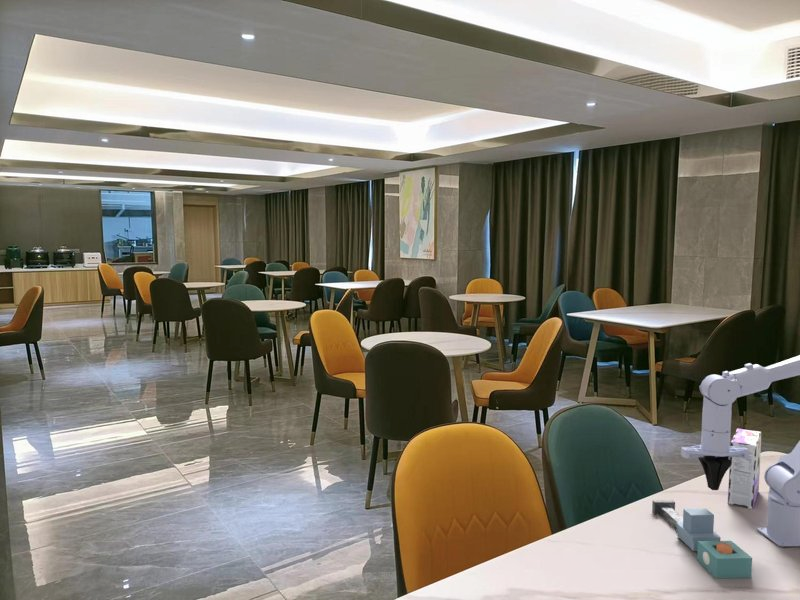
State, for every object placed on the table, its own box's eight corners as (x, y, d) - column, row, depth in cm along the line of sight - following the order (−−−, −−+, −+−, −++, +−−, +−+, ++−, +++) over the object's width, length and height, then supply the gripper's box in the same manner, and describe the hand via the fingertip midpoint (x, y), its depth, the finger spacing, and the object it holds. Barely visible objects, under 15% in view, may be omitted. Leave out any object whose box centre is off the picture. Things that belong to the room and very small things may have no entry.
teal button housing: (730, 559, 124) (731, 540, 124) (751, 577, 118) (752, 557, 117) (696, 559, 124) (697, 541, 124) (715, 578, 117) (716, 558, 117)
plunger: (726, 561, 122) (727, 542, 122) (734, 568, 119) (735, 549, 119) (712, 561, 122) (713, 542, 122) (720, 569, 119) (721, 549, 119)
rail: (672, 511, 147) (672, 500, 147) (721, 555, 126) (722, 541, 126) (652, 512, 147) (652, 500, 147) (698, 556, 126) (698, 542, 126)
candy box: (734, 486, 163) (737, 427, 162) (759, 491, 160) (762, 431, 158) (726, 504, 152) (729, 440, 150) (753, 510, 148) (757, 444, 147)
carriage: (702, 535, 134) (703, 504, 134) (719, 550, 127) (721, 518, 127) (675, 535, 134) (677, 505, 134) (692, 551, 127) (693, 519, 127)
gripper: (737, 424, 138) (734, 481, 139) (675, 424, 138) (672, 481, 139) (756, 433, 131) (753, 493, 132) (691, 433, 131) (688, 494, 132)
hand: (713, 488), depth 135 cm, fingers closed
